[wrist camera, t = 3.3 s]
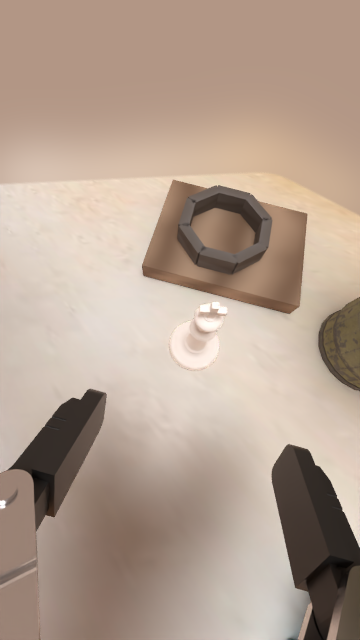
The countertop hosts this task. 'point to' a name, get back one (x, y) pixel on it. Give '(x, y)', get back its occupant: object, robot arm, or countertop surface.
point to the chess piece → (198, 338)
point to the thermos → (343, 344)
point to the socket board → (229, 246)
